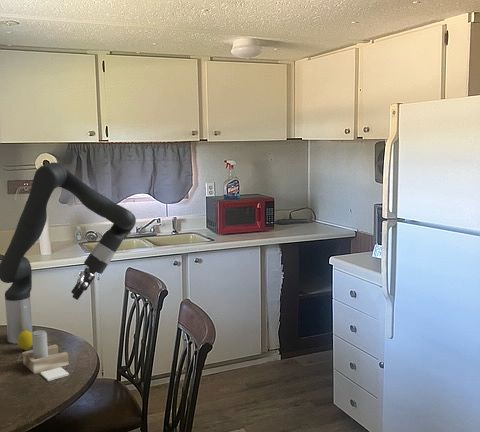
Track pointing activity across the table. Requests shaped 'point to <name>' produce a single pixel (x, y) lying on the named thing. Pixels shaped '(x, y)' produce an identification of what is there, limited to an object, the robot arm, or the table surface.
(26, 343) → the lemon
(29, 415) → the table surface
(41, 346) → the beverage can
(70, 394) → the table surface
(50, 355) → the lane rack
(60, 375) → the tile
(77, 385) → the table surface
